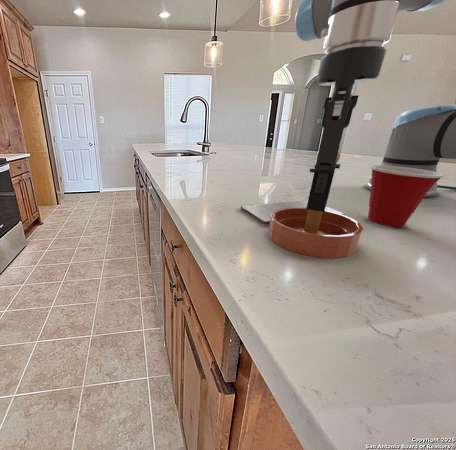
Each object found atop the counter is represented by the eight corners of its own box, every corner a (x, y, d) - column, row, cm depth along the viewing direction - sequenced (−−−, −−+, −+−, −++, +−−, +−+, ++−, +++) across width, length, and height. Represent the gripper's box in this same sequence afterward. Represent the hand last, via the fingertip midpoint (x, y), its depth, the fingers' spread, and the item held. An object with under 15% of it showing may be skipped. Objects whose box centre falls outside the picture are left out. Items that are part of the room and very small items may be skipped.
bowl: (313, 224, 54) (318, 205, 52) (377, 256, 41) (385, 231, 39) (254, 230, 52) (256, 210, 50) (300, 265, 39) (306, 240, 37)
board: (309, 204, 66) (310, 200, 66) (344, 218, 56) (345, 213, 56) (240, 210, 64) (240, 206, 63) (263, 226, 54) (264, 221, 53)
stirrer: (311, 232, 49) (331, 144, 42) (330, 243, 44) (356, 147, 38) (289, 234, 48) (306, 146, 42) (306, 246, 44) (329, 148, 37)
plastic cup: (437, 235, 47) (465, 173, 42) (372, 232, 49) (392, 172, 44) (397, 215, 57) (417, 163, 52) (345, 213, 59) (360, 163, 54)
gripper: (325, 64, 43) (299, 193, 52) (316, 44, 31) (284, 216, 40) (381, 56, 38) (342, 198, 48) (396, 30, 27) (340, 226, 36)
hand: (316, 206), depth 44 cm, fingers open, 3 cm apart
